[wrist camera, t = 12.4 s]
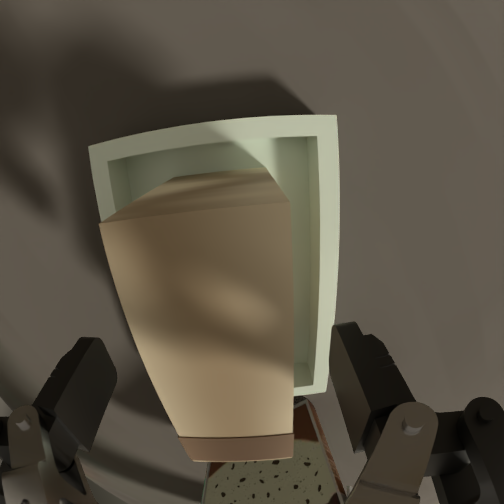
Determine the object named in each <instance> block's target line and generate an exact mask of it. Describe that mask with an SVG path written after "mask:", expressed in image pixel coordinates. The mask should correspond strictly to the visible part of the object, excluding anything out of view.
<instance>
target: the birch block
mask: <svg viewBox="0 0 504 504" xmlns="http://www.w3.org/2000/svg"><path fill="white" fill-rule="evenodd" d="M99 227H100V231H101V236H102V240H103V244H104V248H105V251H106V255H107V259H108V263H109V266H110V270H111V273H112V276H113V280H114V283H115V286H116V289H117V293H118V296H119V299H120V302H121V305H122V308H123V311H124V313H125V316H126V319H127V322H128V325H129V327H130V330H131V333H132V335H133V338H134V341H135V343H136V346H137V348H138V351H139V353H140V356H141V358H142V360H143V363H144V365H145V367H146V370H147V372H148V374H149V377H150V379H151V381H152V383H153V385H154V387H155V390H156V392H157V394H158V396H159V398H160V400H161V402H162V404H163V406H164V408H165V410H166V412H167V414H168V416H169V418H170V420H171V422H172V424H173V426H174V427H175V429H176V431H177V433H178V439H179V440H180V442H181V444H182V445H183V447H184V449H185V451H186V452H187V454H188V456H189V457H190V459H191V460H193V461H201V462H245V461H264V460H276V459H286V458H292V457H293V448H294V429H293V399H294V296H293V258H292V232H291V210H290V201H289V200H288V198H287V197H286V196H285V194H284V193H283V191H282V190H281V188H280V187H279V185H278V184H277V183H276V181H275V180H274V178H273V177H272V176H271V174H270V173H269V171H268V170H267V169H266V167H261V168H249V169H239V170H229V171H219V172H210V173H202V174H194V175H187V176H180V177H173V178H172V179H170V180H168V181H166V182H165V183H163V184H161V185H159V186H158V187H156V188H154V189H153V190H151V191H149V192H148V193H146V194H144V195H143V196H141V197H140V198H138V199H136V200H135V201H133V202H131V203H130V204H128V205H127V206H125V207H124V208H122V209H120V210H119V211H117V212H116V213H114V214H113V215H111V216H110V217H108V218H107V219H105V220H104V221H102V222H101V223H99Z"/></svg>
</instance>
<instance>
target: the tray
mask: <svg viewBox="0 0 504 504" xmlns="http://www.w3.org/2000/svg"><path fill="white" fill-rule="evenodd" d="M88 148H89V156H90V163H91V170H92V176H93V182H94V188H95V193H96V199H97V204H98V209H99V214H100V218H101V222H102V221H104V220H105V219H107V218H108V217H110V216H111V215H113V214H114V213H116V212H117V211H119V210H120V209H122V208H124V207H125V206H127V205H128V204H130V203H131V202H133V201H135V200H136V199H138V198H140V197H141V196H143V195H144V194H146V193H148V192H149V191H151V190H153V189H154V188H156V187H158V186H159V185H161V184H163V183H165V182H166V181H168V180H170V179H172V178H173V177H180V176H187V175H194V174H202V173H210V172H219V171H229V170H239V169H249V168H261V167H266V169H267V170H268V171H269V173H270V174H271V176H272V177H273V178H274V180H275V181H276V183H277V184H278V185H279V187H280V188H281V190H282V191H283V193H284V194H285V196H286V197H287V198H288V200H289V201H290V210H291V232H292V258H293V296H294V396H299V395H307V394H314V393H321V392H326V387H327V380H328V373H329V351H330V340H331V329H332V326H333V325H334V319H335V307H336V294H337V278H338V258H339V222H340V185H339V150H338V130H337V115H285V116H265V117H251V118H239V119H229V120H219V121H211V122H203V123H196V124H189V125H183V126H177V127H171V128H165V129H160V130H154V131H149V132H144V133H140V134H135V135H131V136H126V137H122V138H118V139H114V140H110V141H106V142H102V143H98V144H95V145H91V146H88Z"/></svg>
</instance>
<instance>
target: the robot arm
mask: <svg viewBox="0 0 504 504" xmlns="http://www.w3.org/2000/svg"><path fill="white" fill-rule="evenodd" d="M329 371H330V376H331V379H332V382H333V385H334V388H335V391H336V395H337V398H338V401H339V404H340V407H341V411H342V414H343V417H344V421H345V424H346V427H347V431H348V434H349V437H350V441H351V444H352V447H353V451H354V454H355V453H359V452H363V451H365V453H366V456H367V459H368V460H367V462H366V464H365V466H364V468H363V470H362V472H361V474H360V476H359V477H358V479H357V481H356V483H355V485H354V486H353V488H352V490H351V492H350V493H349V495H348V497H347V499H346V500H345V502H344V503H343V504H419V503H420V496H418V490H419V487H420V485H421V482H422V479H423V477H427V476H431V477H432V480H433V483H434V487H435V490H436V493H437V496H438V500H439V503H440V504H504V411H503V409H502V407H501V406H500V405H499V404H498V403H497V402H496V401H495V400H493V399H491V398H488V397H478V398H475V399H473V400H472V401H471V402H470V403H469V404H468V405H467V407H466V408H465V410H464V411H456V412H444V413H437V412H434V411H433V410H432V409H431V408H430V407H429V406H427V405H425V404H423V403H420V402H416V400H415V399H414V397H413V395H412V393H411V391H410V390H409V388H408V386H407V384H406V382H405V380H404V379H403V377H402V375H401V373H400V371H399V370H398V368H397V366H396V365H395V362H394V361H393V359H392V357H391V356H390V355H389V352H388V350H387V349H386V347H385V345H384V343H383V342H382V341H380V340H379V339H378V338H376V337H375V336H374V335H372V334H369V335H364V336H363V334H362V332H361V330H360V328H359V326H358V325H357V323H356V322H348V323H342V324H335V325H333V326H332V329H331V340H330V351H329ZM50 376H51V377H49V378H48V380H47V381H46V383H45V385H44V386H43V388H42V390H41V391H40V393H39V395H38V396H37V398H36V400H35V401H34V403H33V405H32V406H30V405H23V406H20V407H18V408H16V409H15V410H14V411H13V412H12V413H11V415H10V416H9V417H0V459H1V460H2V464H1V466H0V504H98V502H97V501H96V500H95V498H94V496H93V494H92V491H91V489H90V487H89V484H88V481H87V479H86V476H85V474H84V471H83V468H82V465H81V463H80V460H79V458H78V456H77V455H76V451H77V449H81V450H84V451H88V452H90V449H91V447H92V444H93V441H94V438H95V436H96V433H97V430H98V428H99V425H100V423H101V420H102V417H103V415H104V412H105V410H106V407H107V405H108V402H109V400H110V398H111V395H112V393H113V390H114V388H115V386H116V383H117V372H116V368H115V366H114V364H113V362H112V360H111V358H110V356H109V354H108V352H107V349H106V347H105V345H104V343H103V341H102V340H101V339H100V338H94V337H81V338H79V340H78V341H77V342H76V344H75V345H74V347H73V348H72V350H70V351H69V352H68V353H67V354H65V355H64V356H63V357H62V358H61V359H60V361H59V362H58V364H57V366H56V367H55V369H54V370H53V372H52V373H51V375H50Z"/></svg>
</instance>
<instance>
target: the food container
mask: <svg viewBox="0 0 504 504" xmlns="http://www.w3.org/2000/svg"><path fill="white" fill-rule="evenodd" d="M293 429H294V448H293V457H292V458H286V459H276V460H264V461H245V462H208V464H207V470H206V476H205V482H204V488H203V494H202V500H201V504H343V503H344V502H345V500H346V499H347V497H348V495H349V493H350V492H351V490H352V488H353V487H351V486H347V497H346V494H345V491H344V488H343V485H342V483H341V480H340V477H339V474H338V471H337V469H336V466H335V463H334V460H333V457H332V455H331V452H330V449H329V446H328V443H327V441H326V438H325V435H324V432H323V430H322V427H321V424H320V421H319V419H318V416H317V413H316V410H315V408H314V406H313V404H312V403H311V402H310V401H309V400H308V399H306V400H304V401H301V402H299V403H297V404H295V405H293Z"/></svg>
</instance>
